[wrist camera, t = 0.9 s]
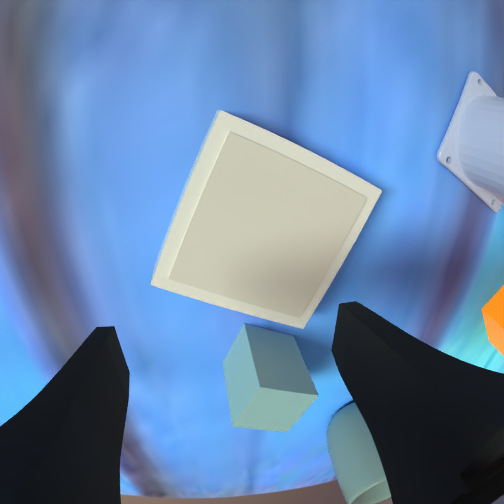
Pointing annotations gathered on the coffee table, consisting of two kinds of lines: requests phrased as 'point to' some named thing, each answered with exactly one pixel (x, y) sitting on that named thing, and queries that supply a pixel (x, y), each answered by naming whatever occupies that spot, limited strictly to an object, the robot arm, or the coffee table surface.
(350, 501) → the cup
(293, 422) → the block
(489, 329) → the orange juice
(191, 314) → the coffee table surface
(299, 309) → the tray
